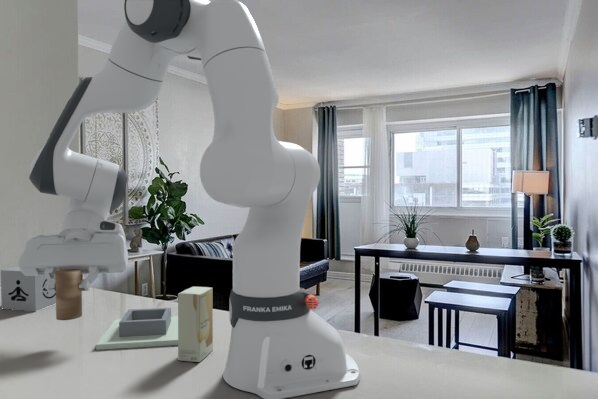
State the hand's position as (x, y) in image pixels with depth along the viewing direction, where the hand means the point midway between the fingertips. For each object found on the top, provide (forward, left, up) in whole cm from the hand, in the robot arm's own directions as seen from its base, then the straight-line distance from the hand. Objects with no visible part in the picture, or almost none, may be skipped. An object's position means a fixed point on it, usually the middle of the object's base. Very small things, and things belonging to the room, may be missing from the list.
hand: (67, 290), depth 85 cm
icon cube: (+19, -32, -11) cm, 39 cm away
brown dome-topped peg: (0, -1, -5) cm, 5 cm away
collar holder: (-14, -5, -11) cm, 18 cm away
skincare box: (-25, +9, -11) cm, 29 cm away
